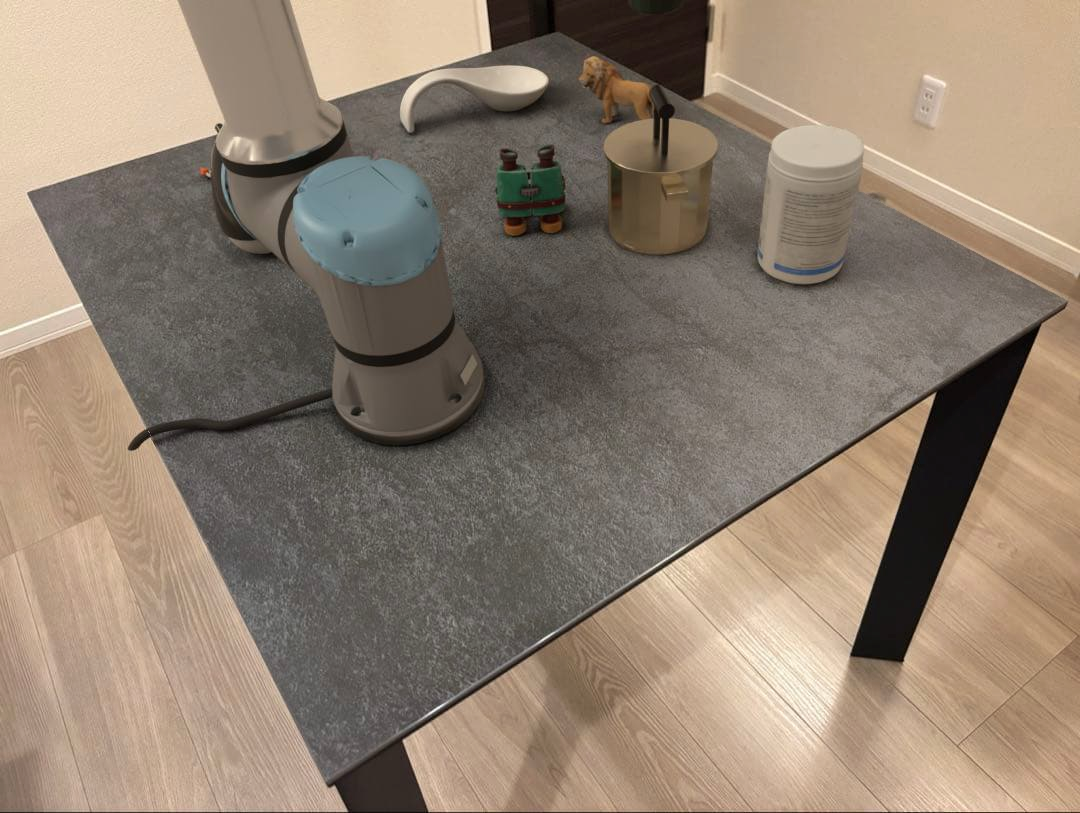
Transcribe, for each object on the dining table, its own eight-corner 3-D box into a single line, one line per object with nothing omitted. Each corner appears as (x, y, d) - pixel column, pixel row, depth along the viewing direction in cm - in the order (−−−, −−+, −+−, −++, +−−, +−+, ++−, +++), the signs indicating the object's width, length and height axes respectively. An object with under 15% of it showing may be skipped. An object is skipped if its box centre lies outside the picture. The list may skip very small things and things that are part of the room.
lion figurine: (575, 121, 124) (572, 61, 118) (594, 107, 127) (592, 47, 121) (661, 142, 118) (664, 80, 112) (679, 126, 121) (682, 65, 114)
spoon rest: (531, 80, 136) (528, 35, 131) (562, 108, 128) (559, 61, 123) (394, 116, 130) (385, 70, 125) (417, 147, 122) (408, 100, 117)
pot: (623, 273, 96) (623, 193, 89) (597, 197, 109) (596, 121, 101) (724, 260, 97) (732, 179, 89) (687, 185, 109) (692, 109, 102)
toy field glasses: (561, 122, 103) (565, 153, 96) (565, 201, 110) (569, 235, 102) (490, 128, 104) (488, 159, 96) (498, 206, 110) (497, 241, 102)
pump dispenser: (289, 211, 112) (254, 102, 101) (323, 243, 105) (289, 131, 95) (218, 239, 108) (173, 130, 97) (248, 275, 102) (204, 162, 91)
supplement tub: (859, 266, 94) (888, 146, 84) (799, 299, 91) (822, 178, 80) (796, 230, 100) (816, 114, 90) (737, 259, 97) (751, 142, 86)
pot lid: (615, 189, 91) (614, 128, 86) (595, 134, 100) (593, 76, 95) (730, 174, 91) (737, 112, 86) (700, 121, 101) (704, 63, 96)
